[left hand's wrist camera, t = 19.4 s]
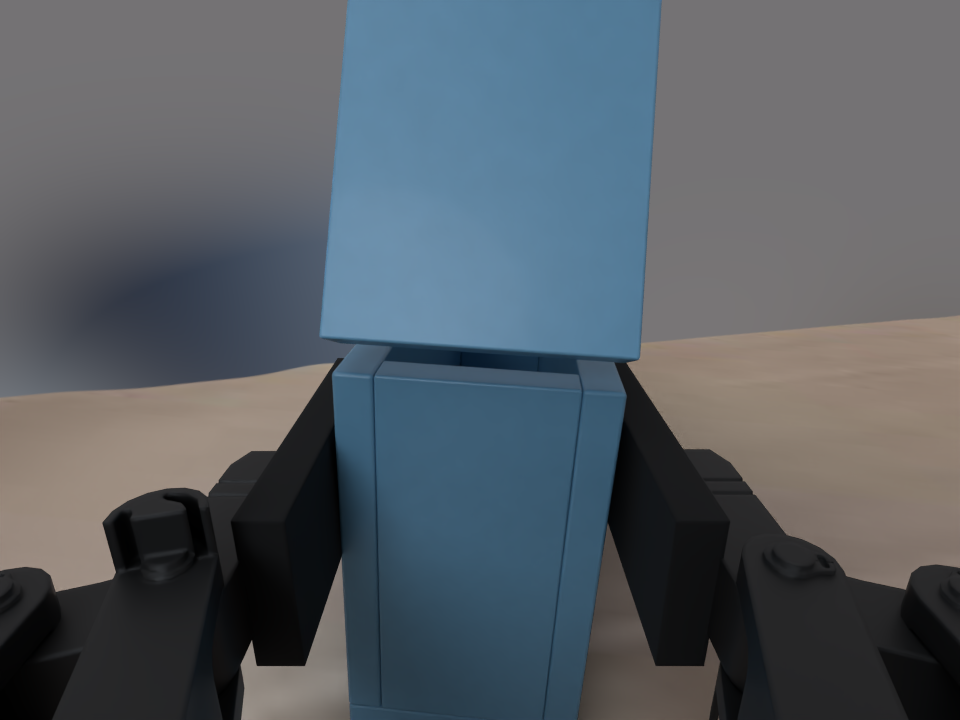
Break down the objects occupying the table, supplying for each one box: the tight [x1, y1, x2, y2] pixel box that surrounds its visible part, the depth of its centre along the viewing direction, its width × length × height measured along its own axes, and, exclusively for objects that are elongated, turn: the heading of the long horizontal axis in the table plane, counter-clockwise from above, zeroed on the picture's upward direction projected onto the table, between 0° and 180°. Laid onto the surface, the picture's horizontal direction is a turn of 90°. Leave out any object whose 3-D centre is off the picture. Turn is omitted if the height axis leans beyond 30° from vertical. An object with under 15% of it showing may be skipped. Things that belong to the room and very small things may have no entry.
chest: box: [332, 344, 627, 720], centre depth 19 cm, size 16×5×9 cm, turn 176°
